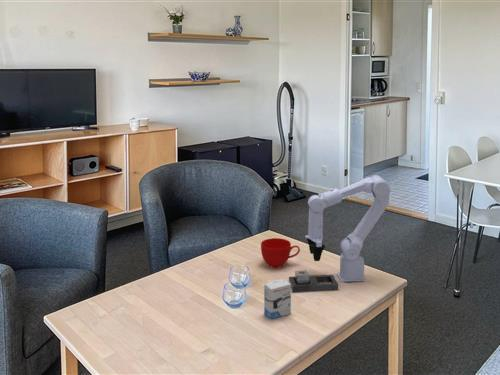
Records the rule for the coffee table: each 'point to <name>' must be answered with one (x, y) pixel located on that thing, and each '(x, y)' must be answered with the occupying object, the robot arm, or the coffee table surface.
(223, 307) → the coffee table surface
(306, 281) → the block
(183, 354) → the coffee table surface
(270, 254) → the ceramic cup
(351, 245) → the robot arm
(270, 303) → the ink box
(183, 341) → the coffee table surface
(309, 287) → the dark grey double frame
